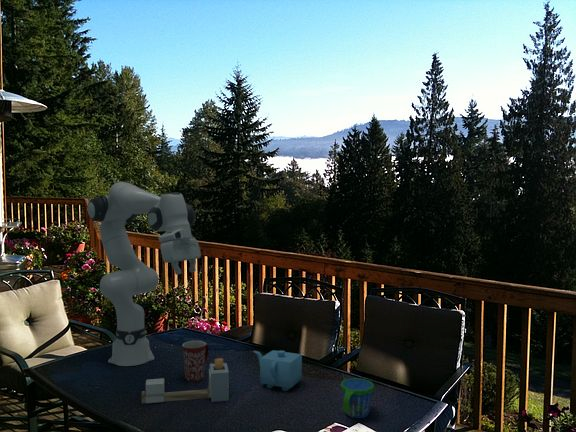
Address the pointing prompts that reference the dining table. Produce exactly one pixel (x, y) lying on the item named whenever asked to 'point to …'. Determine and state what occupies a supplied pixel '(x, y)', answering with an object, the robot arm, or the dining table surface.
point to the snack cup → (357, 397)
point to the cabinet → (219, 383)
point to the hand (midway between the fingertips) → (185, 273)
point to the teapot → (280, 369)
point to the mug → (194, 359)
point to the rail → (182, 395)
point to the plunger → (219, 364)
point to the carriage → (154, 390)
